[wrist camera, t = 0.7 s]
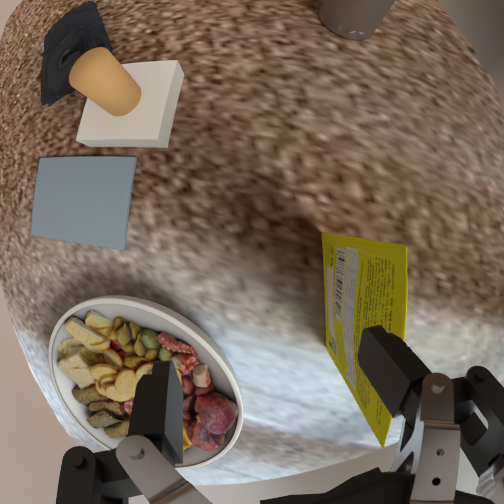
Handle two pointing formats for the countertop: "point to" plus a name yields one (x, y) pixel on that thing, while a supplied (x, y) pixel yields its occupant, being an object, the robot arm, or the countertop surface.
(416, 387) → the robot arm
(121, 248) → the mat
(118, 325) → the bowl
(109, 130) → the white square block
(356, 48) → the countertop surface
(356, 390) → the food package
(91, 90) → the tan rounded cylinder
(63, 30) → the black flat bumpy piece
